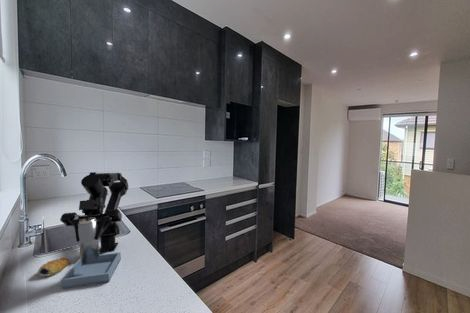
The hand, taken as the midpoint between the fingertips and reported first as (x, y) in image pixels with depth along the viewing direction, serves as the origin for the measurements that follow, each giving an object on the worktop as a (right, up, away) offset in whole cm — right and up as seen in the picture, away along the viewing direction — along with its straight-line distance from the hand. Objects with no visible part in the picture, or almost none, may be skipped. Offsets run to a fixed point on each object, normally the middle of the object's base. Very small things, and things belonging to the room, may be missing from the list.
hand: (87, 240), depth 75 cm
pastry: (-16, -14, +5) cm, 22 cm away
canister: (0, -7, +2) cm, 8 cm away
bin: (0, -13, +3) cm, 14 cm away
